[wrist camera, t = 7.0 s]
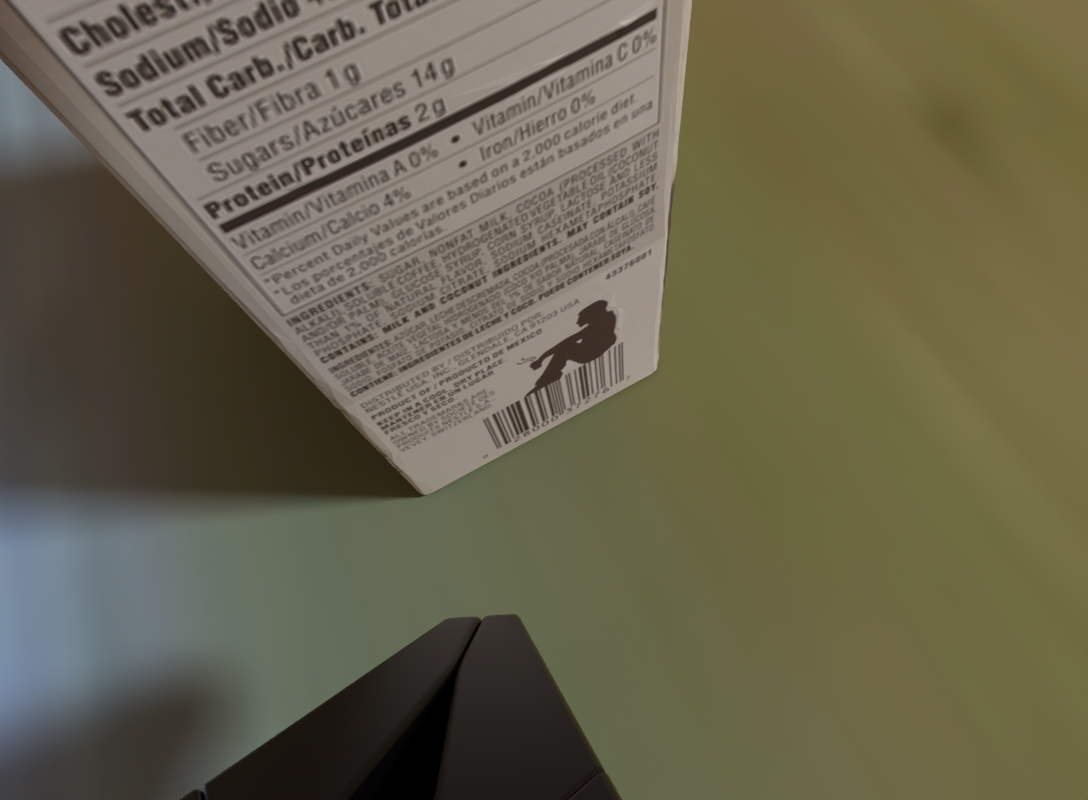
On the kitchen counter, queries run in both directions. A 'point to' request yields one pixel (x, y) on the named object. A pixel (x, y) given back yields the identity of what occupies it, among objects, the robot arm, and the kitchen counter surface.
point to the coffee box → (399, 189)
